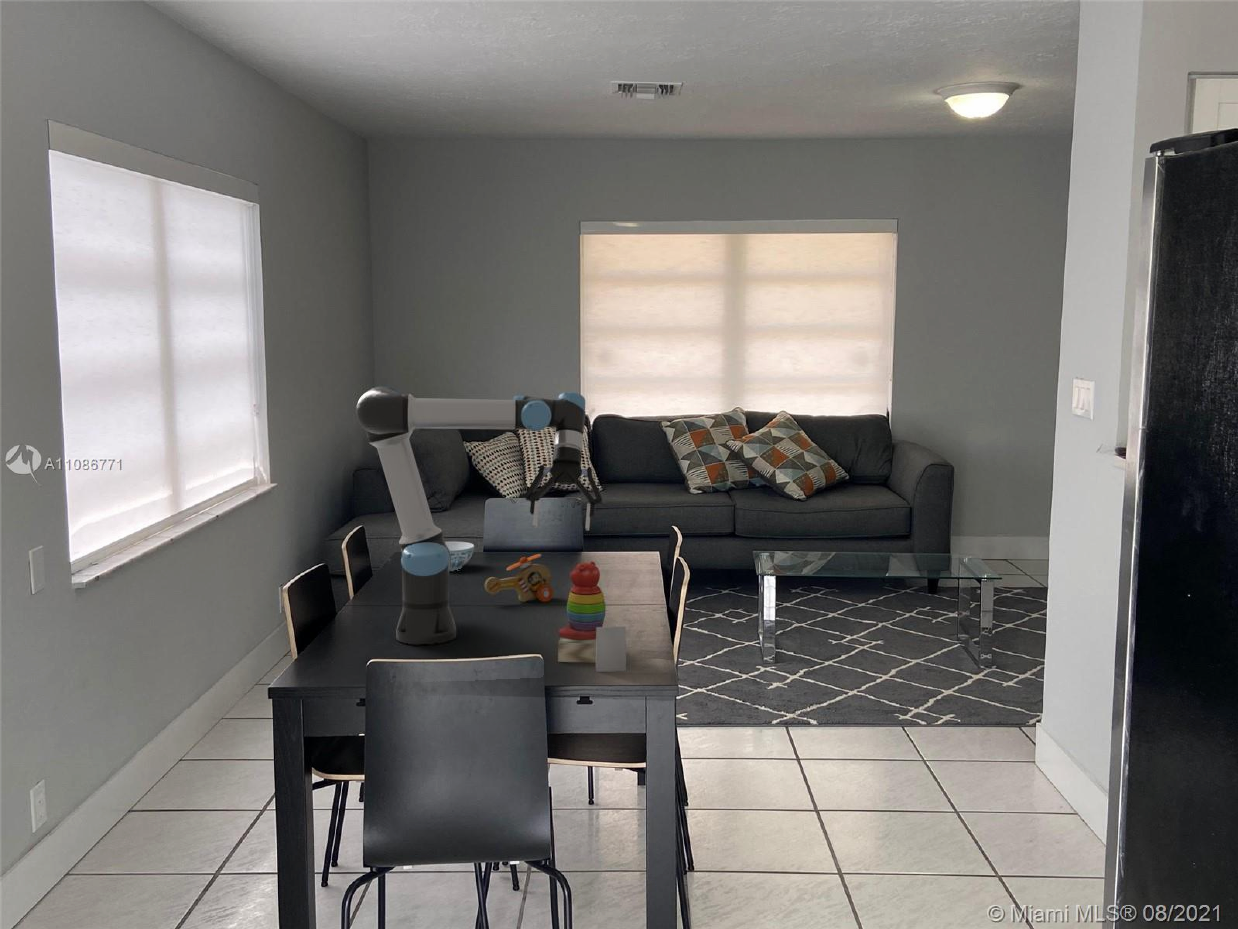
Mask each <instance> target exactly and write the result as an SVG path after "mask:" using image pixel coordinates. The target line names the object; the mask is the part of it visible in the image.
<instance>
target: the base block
mask: <svg viewBox="0 0 1238 929" xmlns="http://www.w3.org/2000/svg"><path fill="white" fill-rule="evenodd" d="M557 662H558V663H595V664H596V639H592V640H577V639H568V638H563V637H560V638H559V640H558V643H557Z"/></svg>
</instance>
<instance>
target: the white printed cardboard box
mask: <svg viewBox="0 0 1238 929" xmlns="http://www.w3.org/2000/svg"><path fill="white" fill-rule="evenodd" d="M595 670H596V673H602V672H603V673H605V672H626V671H627V633H626V626H602V627H596V663H595Z"/></svg>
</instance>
